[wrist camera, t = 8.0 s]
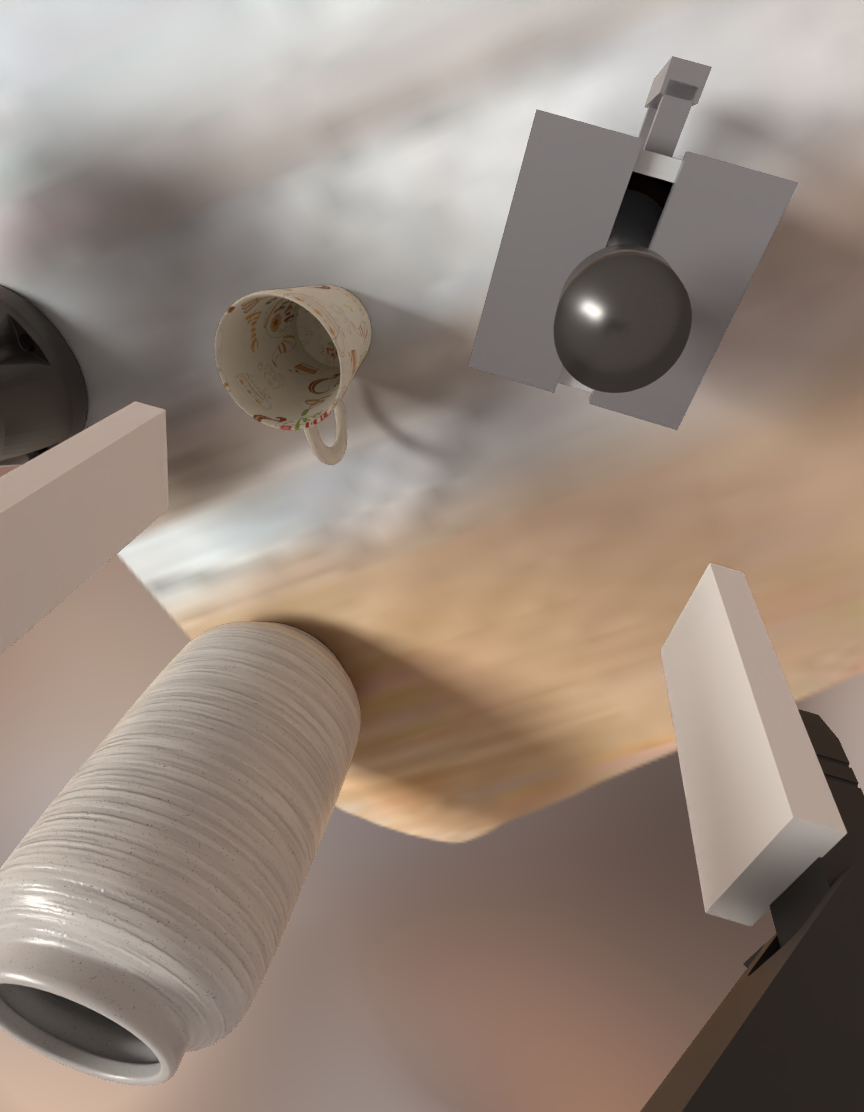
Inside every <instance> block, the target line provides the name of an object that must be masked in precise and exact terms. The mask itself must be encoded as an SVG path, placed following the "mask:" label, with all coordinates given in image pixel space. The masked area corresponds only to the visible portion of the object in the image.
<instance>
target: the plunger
mask: <svg viewBox="0 0 864 1112" xmlns="http://www.w3.org/2000/svg"><path fill="white" fill-rule="evenodd" d="M662 211H663V209H662V208H661V206H660V205H659V204H658V203H657V202H655V201H654V200H653V199H652V198H650V197H649V196H647V195H645V194H643V193H641V192H638V191H636V190H632V189H627V188H626V191H625V194H624V197H623V200H622V202H621V205H620V208H619V211H618V214H617V216H616V219H615V222H614V225H613V228H612V231H611V233H610V236H609V239H608V242H607V245H606V247H605V248H603V249H600V250H598V251H596V252H594V253H592V254H591V255H589V256H588V257H587V258H585V259H584V260H583V261H582V262H581V263H579V264H578V265H577V267H576V268H575V269H574V270H573V271H572V273H571V274H570V275H569V277H568V278H567V280H566V282H565V284H564V286H563V289H562V291H561V294H560V298H559V302H558V306H557V310H556V315H555V320H554V343H555V347H556V351H557V354H558V356H559V359H560V361H561V363H562V364H563V366H564V368H565V369H566V370H567V371H568V373H569V374H570V375H571V376H572V377H573V378H574V379H576V380H577V381H578V382H580V383H581V384H583V385H585V386H587V387H589V388H591V389H594V390H597V391H601V392H607V393H623V392H630V391H634V390H637V389H640V388H643V387H645V386H647V385H649V384H651V383H653V382H655V381H656V380H657V379H659V378H660V377H662V376H663V375H664V374H665V373H666V372H667V371H668V370H669V369H670V368H671V367H672V366H673V365H674V364H675V363H676V361H677V360H678V358H679V357H680V356H681V354H682V352H683V350H684V348H685V346H686V343H687V341H688V338H689V334H690V330H691V323H692V309H691V303H690V299H689V296H688V293H687V291H686V289H685V287H684V285H683V283H682V282H681V280H680V279H679V277H678V276H677V274H676V273H675V272H674V270H673V269H672V267H671V266H670V265H669V263H668V262H667V261H666V260H665V259H664V258H663V257H662V256H660V255H659V254H658V253H656V252H654V251H653V250H651V249H649V248H648V247H649V245H650V242H651V240H652V237H653V234H654V232H655V229H656V227H657V224H658V222H659V219H660V217H661V214H662Z"/></svg>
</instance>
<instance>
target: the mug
mask: <svg viewBox="0 0 864 1112" xmlns="http://www.w3.org/2000/svg"><path fill="white" fill-rule="evenodd" d="M371 336H372V329H371V323H370V319H369V316H368V313H367V311H366V309H365V308H364V306H363V305H362V303H361V302H360V301H359V300H358V299H357V298H356V297H355V296H354V295H353V294H352V293H350V292H349V291H347V290H345V289H343V288H341V287H338V286H334V285H316V286H306V287H295V288H285V289H274V290H265V291H259V292H255V293H252V294H249V295H247V296H244V297H242V298H241V299H239V300H237V301H236V302H235V303H234V304H232V305H231V306H230V307H229V309H228V310H227V311H226V312H225V314H224V315H223V317H222V318H221V320H220V322H219V325H218V328H217V331H216V335H215V342H214V354H215V362H216V366H217V370H218V373H219V376H220V378H221V380H222V383H223V385H224V387H225V388H226V390H227V392H228V393H229V395H230V396H231V397H232V399H233V400H234V401H235V402H236V404H237V405H238V406H239V407H240V408H241V409H242V410H243V411H245V412H246V413H247V414H248V415H250V416H251V417H252V418H254V419H256V420H257V421H259V422H261V423H263V424H265V425H268V426H270V427H273V428H277V429H283V430H299V429H303V430H304V433H305V435H306V438H307V441H308V444H309V446H310V448H311V450H312V452H313V454H314V455H315V456H316V457H317V458H318V459H319V460H320V461H321V462H323V463H325V464H328V465H334V464H336V463H338V462H339V461H340V460H341V459H342V457H343V455H344V453H345V450H346V445H347V423H346V411H345V408H344V405H343V402H342V399H341V398H342V396H343V394H344V392H345V391H346V389H347V387H348V385H349V384H350V382H351V380H352V378H353V377H354V375H355V373H356V371H357V370H358V368H359V366H360V364H361V363H362V361H363V359H364V357H365V356H366V354H367V352H368V349H369V346H370V343H371ZM333 410H334V415H335V421H336V438H335V442H334V445H333V446H332V447H328V446H326V445H325V444H324V443H323V442H322V440H321V438H320V435H319V432H318V430H317V426H316V424H317V423H319V422H320V421H322V420H323V419H325V418H326V417H327V416H328V415H329V414H330V413H331V412H332V411H333Z"/></svg>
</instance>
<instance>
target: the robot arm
mask: <svg viewBox="0 0 864 1112" xmlns="http://www.w3.org/2000/svg"><path fill="white" fill-rule="evenodd" d="M86 417H87V394H86V388H85V384H84V380H83V377H82V374H81V371H80V368H79V366H78V364H77V362H76V359H75V357H74V355H73V353H72V352H71V350H70V348H69V347H68V345H67V343H66V342H65V340H64V339H63V337H62V336H61V335H60V333H59V332H58V331H57V330H56V328H55V327H54V326H53V325H52V324H51V322H50V321H49V320H48V319H47V318H46V317H45V316H44V315H43V314H42V313H41V312H40V311H39V310H37V309H36V308H35V307H34V306H33V305H32V304H30V303H29V302H28V301H26V300H25V299H24V298H22V297H21V296H19V295H17V294H16V293H14V292H12V291H11V290H9V289H7V288H5V287H2V286H0V467H9V466H17V465H21V466H19V467H18V468H16V469H14V470H12V471H10V472H9V473H7V474H5V475H3V476H2V477H0V656H1V655H2V654H3V653H4V652H5V651H6V650H8V649H9V648H10V647H11V646H12V645H13V644H14V643H16V642H17V641H18V640H19V639H20V638H21V637H22V636H24V635H25V634H26V633H27V632H28V631H29V630H31V629H32V628H33V627H34V626H35V625H36V624H37V623H39V621H41V620H42V619H43V618H44V617H45V616H46V615H48V614H49V613H50V612H51V611H52V610H53V609H54V608H56V607H57V606H58V605H59V604H60V603H61V602H63V601H64V600H65V599H66V598H67V597H68V596H69V595H71V594H72V593H73V592H74V591H75V590H76V589H77V588H79V586H81V585H82V584H83V583H84V582H85V581H86V580H88V579H89V578H90V577H91V576H92V575H93V574H94V573H96V572H97V571H98V570H99V569H100V568H101V567H103V566H104V565H105V564H106V563H107V562H108V561H109V560H111V559H112V558H113V557H114V556H115V555H116V554H117V553H119V552H120V551H121V550H122V549H123V548H124V547H125V546H127V545H128V544H129V543H130V542H131V541H132V540H133V539H135V538H136V537H137V536H138V535H139V534H140V533H141V532H143V531H144V530H145V529H146V528H147V527H148V526H149V525H151V524H152V523H153V522H154V521H155V520H156V519H157V518H159V517H160V516H161V515H162V514H163V513H164V512H165V511H167V510H168V509H169V494H168V464H167V435H166V410H165V409H161V408H158V407H154V406H150V405H147V404H143V403H140V402H136V401H135V402H133V403H131V404H129V405H128V406H126V407H124V408H122V409H120V410H119V411H117V412H115V413H113V414H112V415H110V416H108V417H106V418H104V419H103V420H101V421H99V422H97V423H96V424H94V425H92V426H90V427H88V428H87V429H85V430H83V428H84V426H85V422H86ZM661 656H662V662H663V668H664V674H665V679H666V685H667V691H668V697H669V703H670V709H671V715H672V720H673V726H674V732H675V738H676V744H677V750H678V755H679V761H680V767H681V773H682V778H683V785H684V790H685V796H686V802H687V808H688V814H689V820H690V826H691V831H692V837H693V843H694V849H695V855H696V861H697V867H698V872H699V878H700V884H701V890H702V896H703V902H704V908H705V912H706V913H708V914H711V915H715V916H718V917H721V918H724V919H728V920H731V921H734V922H737V923H741V924H744V925H747V926H752V925H753V924H754V923H755V922H756V921H757V920H758V919H760V918H761V917H762V916H763V915H764V913H766V912H767V911H768V910H769V909H771V913H772V917H773V921H774V925H775V928H776V934H775V935H774V936H773V937H772V938H771V939H770V940H769V941H768V942H767V943H765V945H763V946H762V947H761V948H760V949H759V950H758V951H757V952H756V953H755V954H753V956H751V957H750V958H749V959H748V960H747V961H746V962H745V963H744V965H745V966H746V967H747V969H746V971H745V972H744V973H743V975H742V976H741V977H740V979H739V980H738V981H737V983H736V984H735V986H734V987H733V988H732V989H731V991H730V992H729V993H728V995H727V996H726V997H725V999H724V1000H723V1002H722V1003H721V1004H720V1005H719V1007H718V1008H717V1010H716V1011H715V1012H714V1014H713V1015H712V1016H711V1018H710V1019H709V1020H708V1022H707V1023H706V1024H705V1026H704V1027H703V1028H702V1030H701V1031H700V1033H699V1034H698V1035H697V1036H696V1038H695V1039H694V1040H693V1042H692V1043H691V1044H690V1046H689V1047H688V1048H687V1050H686V1051H685V1052H684V1054H683V1055H682V1056H681V1058H680V1059H679V1061H678V1062H677V1063H676V1065H675V1066H674V1068H673V1069H672V1070H671V1071H670V1073H669V1074H668V1075H667V1077H666V1078H665V1079H664V1081H663V1082H662V1083H661V1085H660V1086H659V1087H658V1089H657V1090H656V1091H655V1093H654V1094H653V1095H652V1097H651V1098H650V1099H649V1101H648V1102H647V1103H646V1105H645V1106H644V1107H643V1109H642V1110H641V1111H640V1112H864V795H863V792H862V790H861V789H860V788H858V786H857V785H858V781H857V779H856V777H855V775H854V772H853V770H852V768H849V761H848V759H847V757H846V755H845V752H844V750H843V748H842V746H841V743H840V741H839V739H838V738H837V737H836V735H835V734H834V733H833V732H832V731H831V730H830V728H829V727H828V726H827V725H826V724H825V722H824V721H823V720H822V719H821V718H820V716H819V715H816V714H813V713H810V712H806V711H803V710H799V709H798V708H797V706H796V703H795V701H794V698H793V696H792V693H791V691H790V688H789V686H788V683H787V681H786V678H785V676H784V673H783V671H782V668H781V666H780V663H779V661H778V658H777V656H776V653H775V651H774V648H773V646H772V643H771V641H770V638H769V636H768V633H767V631H766V628H765V626H764V623H763V621H762V618H761V616H760V613H759V611H758V608H757V606H756V603H755V601H754V598H753V596H752V593H751V591H750V588H749V586H748V583H747V581H746V578H745V576H744V573H743V572H742V571H738V570H734V569H731V568H727V567H724V566H720V565H717V564H713V563H709V565H708V567H707V569H706V570H705V572H704V574H703V576H702V577H701V579H700V581H699V583H698V584H697V586H696V588H695V590H694V592H693V593H692V595H691V597H690V599H689V600H688V602H687V604H686V606H685V607H684V609H683V611H682V613H681V614H680V616H679V618H678V620H677V622H676V623H675V625H674V627H673V629H672V630H671V632H670V634H669V636H668V637H667V639H666V641H665V643H664V645H663V646H662V648H661Z"/></svg>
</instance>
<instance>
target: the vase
mask: <svg viewBox="0 0 864 1112" xmlns="http://www.w3.org/2000/svg"><path fill="white" fill-rule="evenodd" d="M360 727H361V712H360V705H359V701H358V697H357V694H356V690H355V688H354V686H353V684H352V682H351V680H350V678H349V676H348V675H347V673H346V672H345V671H344V669H343V668H342V666H341V664H340V662H339V661H338V660H337V658H336V657H335V655H334V654H333V653H332V652H331V651H330V650H329V649H328V648H327V647H326V646H325V645H324V644H322V643H321V642H320V641H319V640H317V639H316V638H314V637H313V636H311V635H310V634H308V633H306V632H304V631H302V630H300V629H297V628H295V627H292V626H289V625H285V624H281V623H275V622H252V621H241V622H234V623H227V624H223V625H220V626H217V627H214V628H212V629H209V630H207V631H205V632H203V633H202V634H200V635H199V636H197V637H196V638H194V639H193V640H192V641H190V642H189V643H188V644H187V645H186V646H185V647H184V648H183V649H182V650H181V651H180V652H179V653H178V655H177V656H176V657H175V658H174V659H173V660H172V661H171V662H170V663H169V664H168V665H167V667H165V669H164V670H163V671H162V672H161V673H160V674H159V675H158V676H157V678H156V679H155V680H154V681H153V682H152V683H151V685H150V686H149V687H148V688H147V690H145V692H144V693H143V694H142V695H141V696H140V697H139V699H138V700H137V701H136V702H135V704H134V705H133V706H132V707H131V708H130V709H129V710H128V711H127V713H126V714H125V715H124V716H123V718H122V719H121V720H120V721H119V722H118V723H117V725H116V726H115V727H114V728H113V730H112V731H111V732H110V733H109V734H108V735H107V737H106V738H105V739H104V740H103V741H102V743H101V744H100V745H99V746H98V747H97V749H96V750H95V751H94V752H93V753H92V755H91V756H90V757H89V758H88V759H87V761H86V762H85V763H84V764H83V765H82V767H81V768H80V769H79V770H78V771H77V773H76V774H75V775H74V776H73V778H72V779H71V780H70V781H69V782H68V784H67V785H66V786H65V787H64V789H63V790H62V791H61V792H60V793H59V795H58V796H57V797H56V798H55V800H54V801H53V802H52V803H51V804H50V806H49V807H48V808H47V809H46V811H45V812H44V813H43V814H42V815H41V817H40V818H39V819H38V821H37V822H36V823H35V824H34V825H33V827H32V828H31V829H30V830H29V832H28V833H27V834H26V835H25V837H24V838H23V839H22V841H21V842H20V843H19V845H18V846H17V847H16V849H15V850H14V851H13V853H12V854H11V855H10V857H9V858H8V859H7V860H6V862H5V863H4V864H3V866H2V867H1V869H0V1029H1V1030H2V1031H4V1032H5V1033H7V1034H8V1035H10V1036H11V1037H12V1038H14V1039H15V1040H17V1041H19V1042H20V1043H22V1044H24V1045H25V1046H27V1047H28V1048H31V1049H32V1050H34V1051H36V1052H38V1053H40V1054H41V1055H43V1056H45V1057H47V1058H50V1059H52V1060H54V1061H56V1062H58V1063H60V1064H63V1065H65V1066H68V1067H70V1068H72V1069H75V1070H77V1071H80V1072H83V1073H86V1074H88V1075H91V1076H95V1077H98V1078H101V1079H104V1080H109V1081H113V1082H117V1083H122V1084H129V1085H138V1086H148V1085H157V1084H160V1083H163V1082H166V1081H167V1080H169V1079H170V1078H171V1077H172V1076H173V1075H174V1074H175V1072H176V1071H177V1068H178V1066H179V1064H180V1062H181V1060H182V1058H183V1055H184V1053H185V1052H189V1051H196V1050H199V1049H202V1048H205V1047H208V1046H211V1045H213V1044H215V1043H217V1042H219V1041H220V1040H221V1039H223V1038H225V1037H226V1036H227V1035H229V1034H230V1033H231V1032H232V1031H233V1030H234V1029H235V1028H236V1027H237V1026H238V1024H239V1023H240V1022H241V1020H242V1019H243V1017H244V1016H245V1014H246V1012H247V1011H248V1009H249V1007H250V1006H251V1004H252V1002H253V1000H254V999H255V997H256V995H257V992H258V990H259V988H260V986H261V984H262V981H263V980H264V977H265V975H266V973H267V971H268V968H269V966H270V964H271V962H272V959H273V957H274V955H275V953H276V951H277V948H278V946H279V943H280V941H281V939H282V936H283V934H284V931H285V929H286V926H287V924H288V921H289V919H290V916H291V914H292V912H293V909H294V907H295V904H296V902H297V899H298V897H299V894H300V892H301V890H302V887H303V885H304V882H305V880H306V877H307V875H308V872H309V870H310V867H311V865H312V862H313V859H314V857H315V854H316V852H317V849H318V847H319V844H320V842H321V839H322V836H323V834H324V832H325V829H326V827H327V824H328V822H329V819H330V817H331V814H332V811H333V809H334V806H335V803H336V801H337V798H338V796H339V793H340V790H341V788H342V785H343V782H344V780H345V777H346V775H347V772H348V769H349V767H350V764H351V761H352V758H353V755H354V752H355V749H356V746H357V742H358V737H359V732H360Z"/></svg>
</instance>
